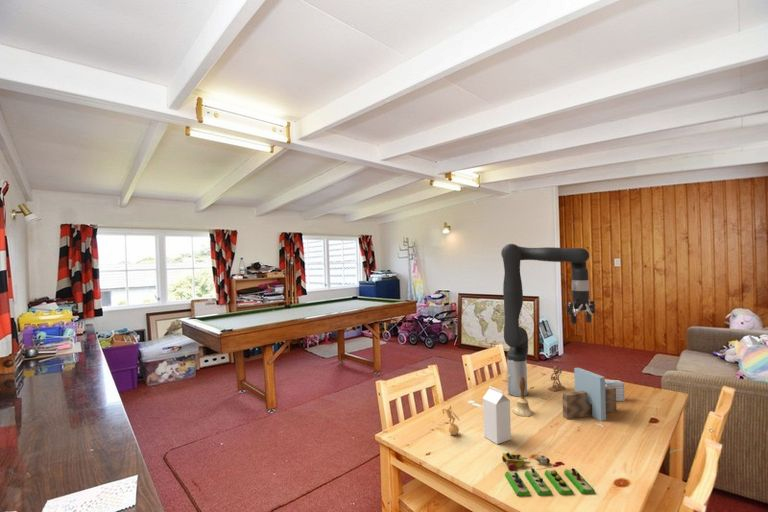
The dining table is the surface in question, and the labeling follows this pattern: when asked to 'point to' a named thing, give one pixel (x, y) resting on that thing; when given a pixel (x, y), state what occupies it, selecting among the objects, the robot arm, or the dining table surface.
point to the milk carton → (496, 416)
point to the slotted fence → (585, 403)
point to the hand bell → (522, 402)
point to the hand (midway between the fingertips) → (581, 323)
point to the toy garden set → (537, 481)
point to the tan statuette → (558, 386)
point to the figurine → (453, 427)
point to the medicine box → (618, 386)
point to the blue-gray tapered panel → (592, 391)
